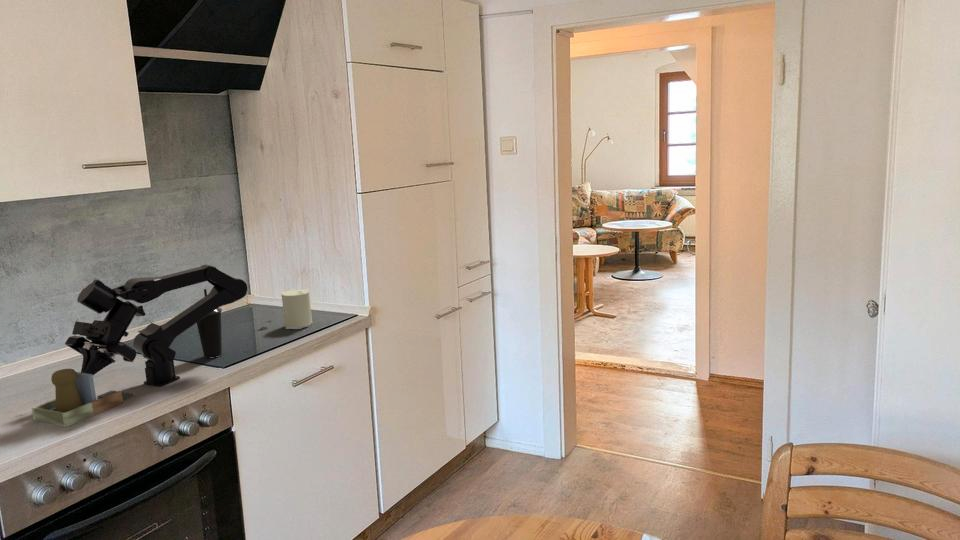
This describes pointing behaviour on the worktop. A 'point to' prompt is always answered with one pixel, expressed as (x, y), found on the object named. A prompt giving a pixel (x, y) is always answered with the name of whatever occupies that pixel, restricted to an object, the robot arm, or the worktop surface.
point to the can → (296, 308)
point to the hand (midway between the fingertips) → (81, 380)
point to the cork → (66, 390)
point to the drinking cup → (211, 333)
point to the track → (75, 410)
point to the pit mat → (124, 395)
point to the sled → (85, 388)
